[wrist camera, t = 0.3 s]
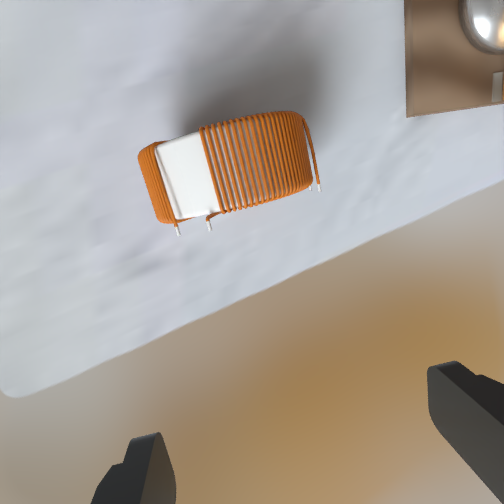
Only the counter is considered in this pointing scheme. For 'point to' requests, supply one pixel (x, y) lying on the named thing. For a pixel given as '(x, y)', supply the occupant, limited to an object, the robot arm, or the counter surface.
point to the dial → (483, 25)
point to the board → (446, 62)
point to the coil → (228, 166)
